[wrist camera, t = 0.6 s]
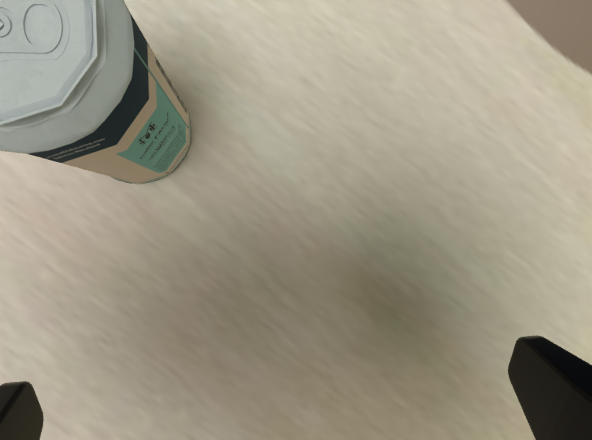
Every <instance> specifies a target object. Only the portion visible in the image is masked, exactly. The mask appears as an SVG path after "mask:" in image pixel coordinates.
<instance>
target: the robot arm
mask: <svg viewBox="0 0 592 440" xmlns="http://www.w3.org/2000/svg"><path fill="white" fill-rule="evenodd" d="M508 375H509V379H510V381H511V384H512V386H513V388H514V391H515V393H516V395H517V398H518V400H519V402H520V405H521V407H522V409H523V412H524V414H525V416H526V418H527V421H528V423H529V425H530V428H531V430H532V432H533V435H534V437H535V439H536V440H592V365H590V364H589V363H587V362H585V361H584V360H582V359H580V358H578V357H577V356H575V355H573V354H572V353H570V352H568V351H566V350H565V349H563V348H561V347H560V346H558V345H556V344H554V343H553V342H551V341H549V340H548V339H546V338H544V337H542V336H527V337H520V338H519V339H518V340H517V341H516V344H515V347H514V350H513V353H512V356H511V360H510V363H509V366H508ZM42 427H43V412H42V409H41V406H40V404H39V401H38V399H37V396H36V394H35V391H34V389H33V386H32V385H31V384H30V383H29V382H26V381H23V382H12V383H5V384H2V385H1V386H0V440H40V436H41V432H42Z"/></svg>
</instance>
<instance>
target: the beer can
mask: <svg viewBox="0 0 592 440" xmlns="http://www.w3.org/2000/svg"><path fill="white" fill-rule="evenodd" d="M190 139H191V125H190V118H189V114H188V111H187V109H186V107H185V105H184V104H183V102H182V101H181V99H180V98H179V96H178V94H177V93H176V91H175V89H174V88H173V86H172V84H171V82H170V81H169V79H168V77H167V76H166V74H165V72H164V70H163V69H162V67H161V65H160V63H159V62H158V60H157V58H156V57H155V55H154V53H153V51H152V50H151V48H150V46H149V45H148V43H147V41H146V39H145V38H144V36H143V34H142V32H141V31H140V29H139V27H138V26H137V24H136V22H135V20H134V19H133V17H132V15H131V14H130V12H129V10H128V8H127V6H126V4H125V2H124V0H0V151H8V152H16V153H25V154H30V155H34V156H37V157H41V158H45V159H48V160H52V161H56V162H59V163H63V164H67V165H70V166H74V167H78V168H82V169H85V170H89V171H93V172H96V173H100V174H104V175H107V176H110V177H112V178H114V179H116V180H119V181H123V182H127V183H134V184H141V183H149V182H152V181H156V180H159V179H161V178H163V177H164V176H166V175H168V174H170V173H171V172H172V171H173V170H174V169H176V168H177V166H178V165H179V164H180V162H181V161H182V160H183V159H184V157H185V155H186V153H187V150H188V148H189V145H190Z"/></svg>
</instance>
